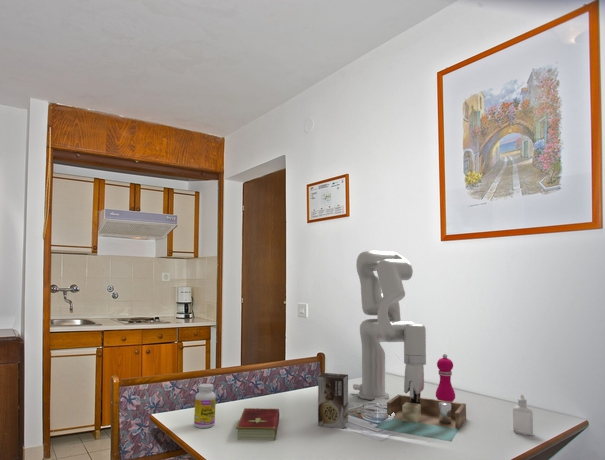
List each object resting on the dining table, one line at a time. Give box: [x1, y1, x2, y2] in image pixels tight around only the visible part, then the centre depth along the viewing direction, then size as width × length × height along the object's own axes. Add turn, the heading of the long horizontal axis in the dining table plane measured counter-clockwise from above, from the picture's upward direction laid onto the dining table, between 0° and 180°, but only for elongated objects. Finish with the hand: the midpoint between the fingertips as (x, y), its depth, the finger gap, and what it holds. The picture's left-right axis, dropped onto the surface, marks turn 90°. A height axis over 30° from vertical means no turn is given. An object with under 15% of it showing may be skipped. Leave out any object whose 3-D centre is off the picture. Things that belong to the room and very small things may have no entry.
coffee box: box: [317, 372, 349, 430], centre depth 158 cm, size 9×6×16 cm
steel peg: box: [439, 402, 451, 424], centre depth 158 cm, size 4×4×6 cm
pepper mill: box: [435, 353, 456, 402], centre depth 181 cm, size 7×7×20 cm
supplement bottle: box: [193, 383, 217, 429], centre depth 154 cm, size 7×7×13 cm
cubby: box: [374, 394, 467, 442], centre depth 157 cm, size 24×26×6 cm
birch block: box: [402, 402, 421, 423], centre depth 160 cm, size 5×5×5 cm
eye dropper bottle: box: [512, 394, 534, 436], centre depth 152 cm, size 4×6×12 cm
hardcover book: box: [235, 407, 280, 441], centre depth 152 cm, size 12×21×4 cm, turn 0°
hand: (415, 412), depth 164 cm, fingers closed
